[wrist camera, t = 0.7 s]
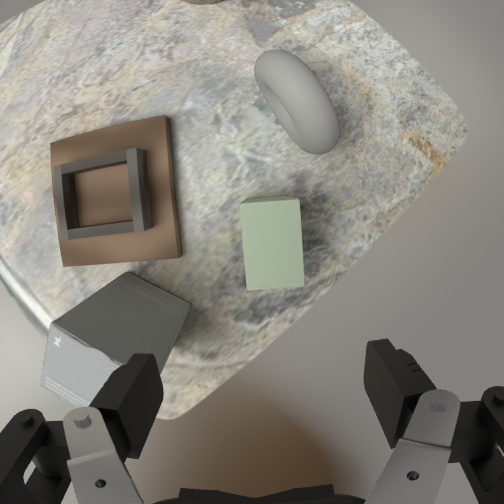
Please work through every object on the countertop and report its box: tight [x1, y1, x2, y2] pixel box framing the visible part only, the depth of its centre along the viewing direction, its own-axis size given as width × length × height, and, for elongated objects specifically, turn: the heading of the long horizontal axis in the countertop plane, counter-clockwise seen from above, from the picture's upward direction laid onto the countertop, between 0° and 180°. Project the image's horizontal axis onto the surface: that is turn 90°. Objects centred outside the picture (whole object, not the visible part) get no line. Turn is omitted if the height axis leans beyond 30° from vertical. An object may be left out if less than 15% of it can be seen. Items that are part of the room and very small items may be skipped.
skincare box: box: [41, 272, 191, 408], centre depth 26 cm, size 8×7×16 cm
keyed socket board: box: [50, 115, 182, 267], centre depth 29 cm, size 14×14×4 cm
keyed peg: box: [239, 195, 304, 291], centre depth 27 cm, size 6×4×10 cm, turn 5°
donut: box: [254, 50, 339, 154], centre depth 24 cm, size 10×4×10 cm, turn 32°
